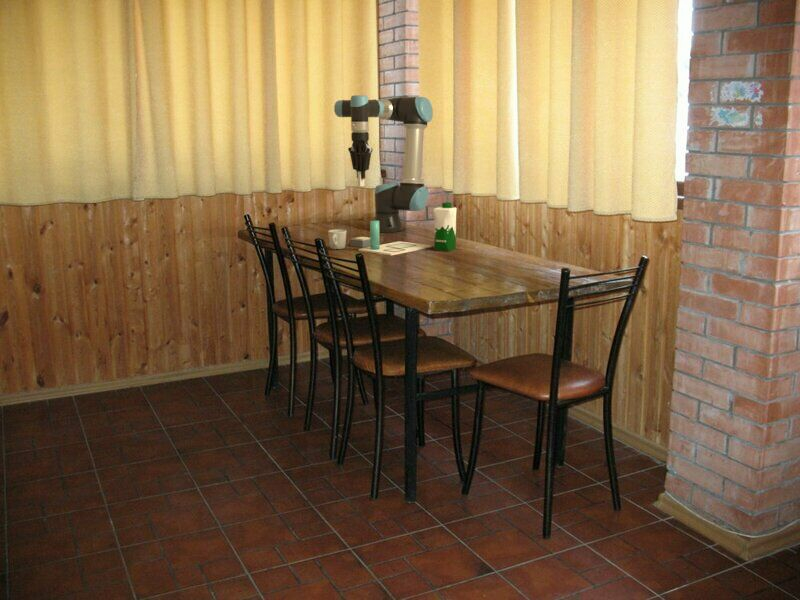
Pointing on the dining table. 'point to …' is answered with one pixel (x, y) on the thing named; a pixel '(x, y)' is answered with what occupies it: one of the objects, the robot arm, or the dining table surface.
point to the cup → (337, 238)
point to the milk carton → (445, 227)
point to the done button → (362, 238)
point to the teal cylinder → (374, 235)
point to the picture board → (396, 248)
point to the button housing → (360, 243)
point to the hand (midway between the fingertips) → (361, 186)
